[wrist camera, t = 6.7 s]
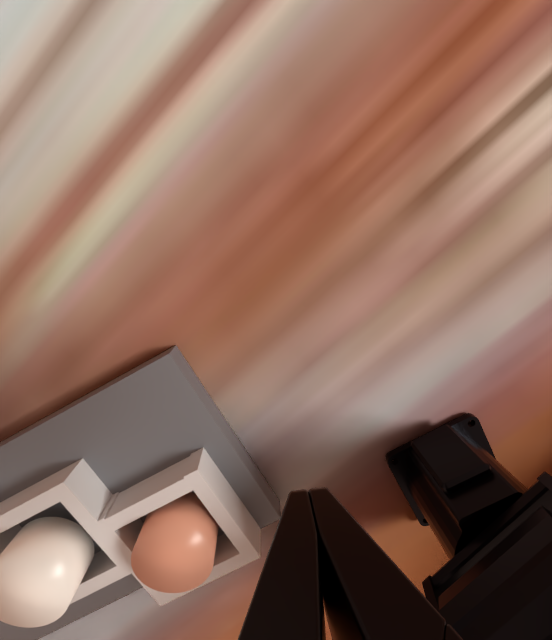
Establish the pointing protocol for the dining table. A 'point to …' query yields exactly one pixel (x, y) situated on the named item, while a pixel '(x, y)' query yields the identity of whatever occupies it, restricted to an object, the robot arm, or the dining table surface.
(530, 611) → the robot arm
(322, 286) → the dining table surface
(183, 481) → the button panel
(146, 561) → the terracotta button
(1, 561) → the white button
